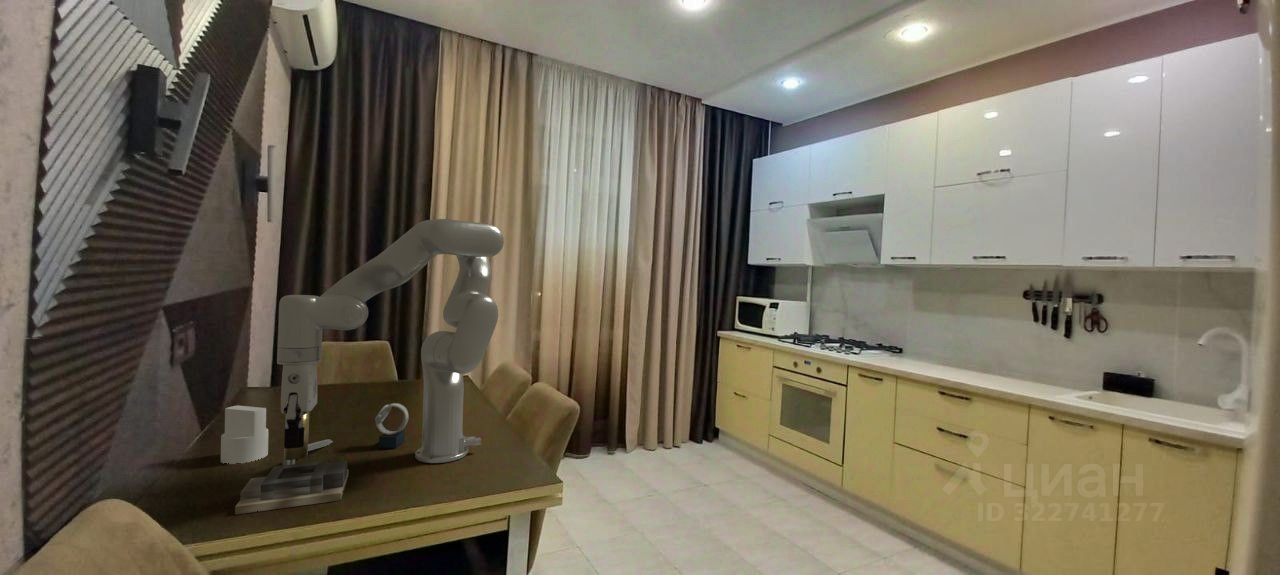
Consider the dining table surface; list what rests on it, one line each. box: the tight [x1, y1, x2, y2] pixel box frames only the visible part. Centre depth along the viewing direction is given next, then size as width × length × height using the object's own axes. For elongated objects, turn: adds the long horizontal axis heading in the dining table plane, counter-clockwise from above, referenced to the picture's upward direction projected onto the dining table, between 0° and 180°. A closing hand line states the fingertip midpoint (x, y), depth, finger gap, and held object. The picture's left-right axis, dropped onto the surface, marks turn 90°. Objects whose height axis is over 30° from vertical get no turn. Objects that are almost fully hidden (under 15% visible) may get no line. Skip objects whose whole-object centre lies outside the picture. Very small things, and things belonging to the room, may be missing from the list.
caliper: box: [282, 439, 334, 465], centre depth 122 cm, size 20×1×6 cm, turn 7°
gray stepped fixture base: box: [234, 460, 350, 516], centre depth 101 cm, size 17×13×4 cm
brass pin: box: [283, 409, 310, 461], centre depth 101 cm, size 4×4×10 cm
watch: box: [374, 402, 410, 450], centre depth 131 cm, size 6×8×11 cm
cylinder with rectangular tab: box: [220, 405, 269, 465], centre depth 119 cm, size 9×9×12 cm
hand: (296, 443), depth 101 cm, fingers closed on brass pin, 4 cm apart
